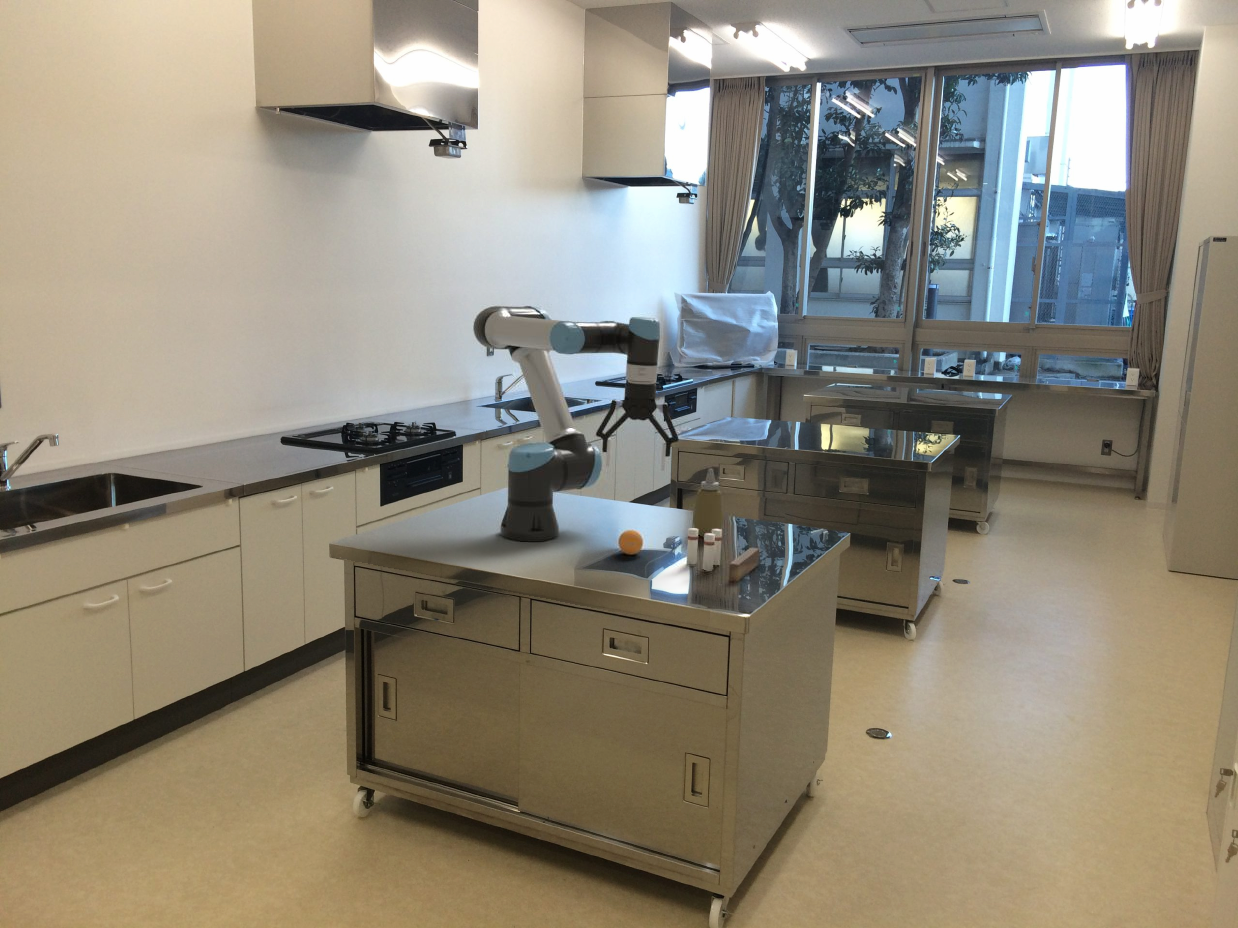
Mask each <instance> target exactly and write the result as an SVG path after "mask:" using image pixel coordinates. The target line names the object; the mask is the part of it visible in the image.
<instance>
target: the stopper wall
mask: <svg viewBox="0 0 1238 928" xmlns="http://www.w3.org/2000/svg"><path fill="white" fill-rule="evenodd" d="M759 551H760V549H759V548H757V547H750V548H748V549H747V550H746V551H744V552H743V553H742V554H740V555H739V556H738V557H736V558H735V559H734V560H733V561H731V562H730V563H729V572H728V574H729V575H728V581H729V582H730V581H731V582H739V581H740V580H741V579H743V578H744V577H746V576H747V574H749V573H750V572H751V571H752V570H754V569H755V568H756V567H757V566H758V565H759Z"/></svg>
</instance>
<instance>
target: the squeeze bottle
mask: <svg viewBox="0 0 1238 928" xmlns="http://www.w3.org/2000/svg"><path fill="white" fill-rule="evenodd" d="M714 473H715V471H714V469H713V468H708V471H707V473H706V477H705V480H704V481H703V480H702V481H701V483H700V485H701V486H700V489H699V490H697V493H696V499H695V505H694V510H693V518H692V523H693V526H694V527H693V528H696V529H698V535H700V536H699V537H701V536H705V534H706V533H712V529H721V530H722V527H723V525H724V515H723V512H724V511H723V493H722V492H721V490H719V489H720V487H719V486H720V483H719V482H717V481H716V480H715V474H714Z"/></svg>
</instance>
